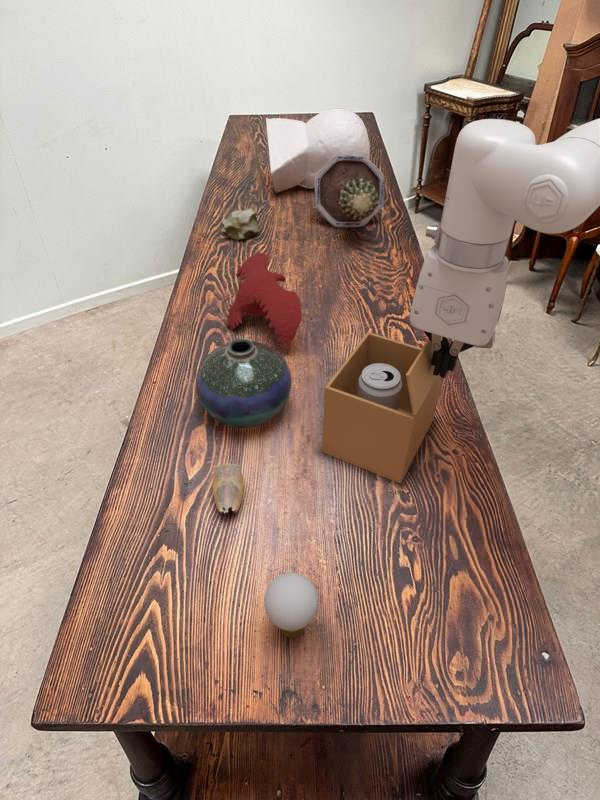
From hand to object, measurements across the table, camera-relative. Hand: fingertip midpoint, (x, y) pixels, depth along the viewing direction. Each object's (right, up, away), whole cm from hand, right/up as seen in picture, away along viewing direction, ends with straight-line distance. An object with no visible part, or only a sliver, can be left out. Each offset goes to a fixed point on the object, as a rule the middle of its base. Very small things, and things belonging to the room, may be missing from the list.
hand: (441, 370), depth 72 cm
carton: (-6, -10, +14) cm, 18 cm away
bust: (-14, +59, +88) cm, 107 cm away
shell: (-29, -18, +5) cm, 35 cm away
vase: (-28, -6, +18) cm, 34 cm away
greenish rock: (-34, +38, +66) cm, 83 cm away
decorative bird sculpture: (-28, +12, +38) cm, 48 cm away
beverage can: (-7, -9, +14) cm, 18 cm away
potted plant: (-6, +41, +69) cm, 80 cm away
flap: (-2, +1, 0) cm, 2 cm away
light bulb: (-20, -31, -9) cm, 38 cm away
